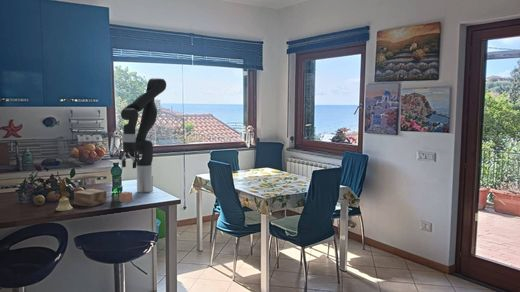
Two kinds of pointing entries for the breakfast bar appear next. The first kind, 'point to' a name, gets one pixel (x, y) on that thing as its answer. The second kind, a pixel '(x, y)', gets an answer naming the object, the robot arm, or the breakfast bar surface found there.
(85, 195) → the walnut block
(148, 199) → the breakfast bar surface
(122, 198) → the terracotta cube
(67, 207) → the hand bell
